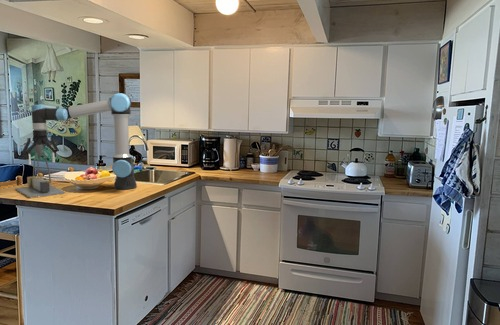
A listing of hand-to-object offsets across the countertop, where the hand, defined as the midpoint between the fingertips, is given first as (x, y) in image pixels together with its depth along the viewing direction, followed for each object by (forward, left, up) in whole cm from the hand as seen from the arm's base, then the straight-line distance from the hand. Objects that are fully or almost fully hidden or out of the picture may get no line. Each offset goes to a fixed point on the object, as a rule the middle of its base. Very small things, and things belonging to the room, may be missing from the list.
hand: (41, 163), depth 225 cm
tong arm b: (+3, -1, -17) cm, 18 cm away
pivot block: (+13, -9, -18) cm, 24 cm away
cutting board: (+5, -3, -19) cm, 20 cm away
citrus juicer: (+24, -26, -19) cm, 40 cm away
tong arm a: (+2, -2, -17) cm, 17 cm away
